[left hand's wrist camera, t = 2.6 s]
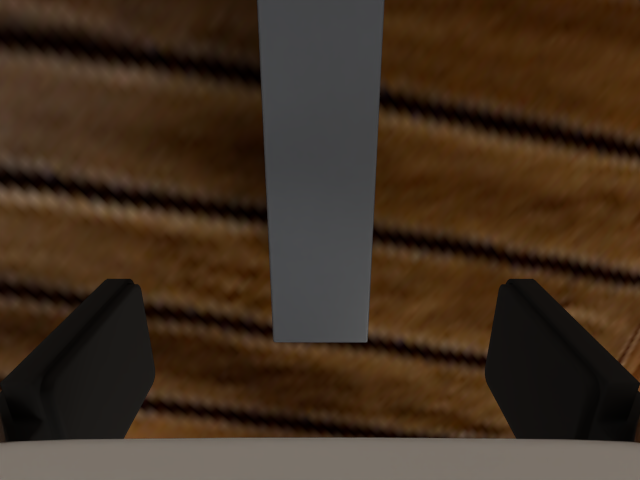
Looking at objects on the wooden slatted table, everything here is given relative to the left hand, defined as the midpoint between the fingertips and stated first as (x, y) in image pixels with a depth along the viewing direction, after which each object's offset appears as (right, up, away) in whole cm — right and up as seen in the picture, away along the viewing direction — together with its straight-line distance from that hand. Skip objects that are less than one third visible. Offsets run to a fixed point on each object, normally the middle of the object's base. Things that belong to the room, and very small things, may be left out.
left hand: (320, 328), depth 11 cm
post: (0, +30, +7) cm, 31 cm away
